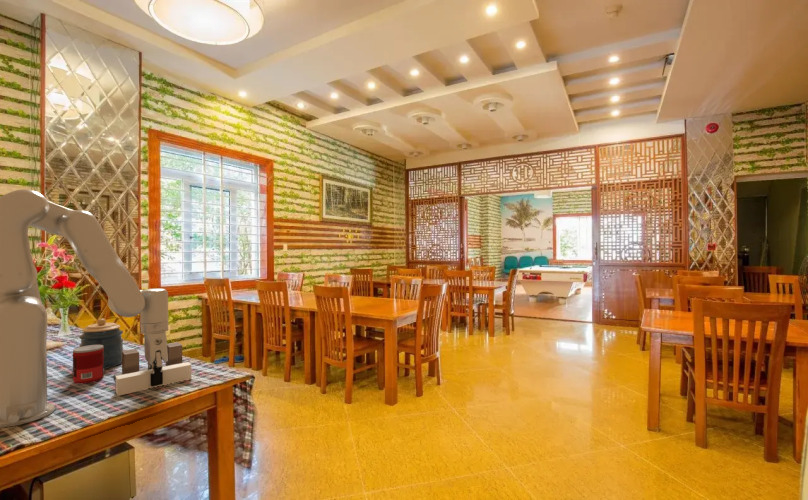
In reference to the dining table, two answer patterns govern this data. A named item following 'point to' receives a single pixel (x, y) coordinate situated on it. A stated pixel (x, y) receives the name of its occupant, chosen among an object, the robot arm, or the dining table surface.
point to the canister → (105, 340)
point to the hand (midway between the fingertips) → (155, 382)
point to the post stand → (132, 365)
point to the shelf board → (143, 378)
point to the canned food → (88, 364)
